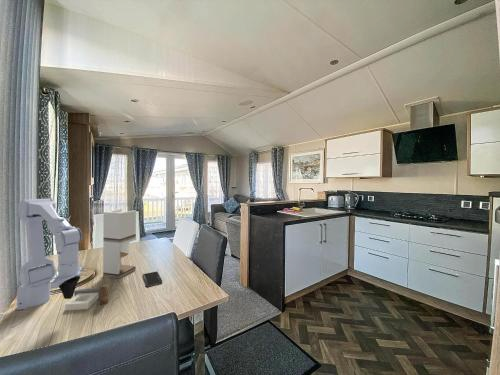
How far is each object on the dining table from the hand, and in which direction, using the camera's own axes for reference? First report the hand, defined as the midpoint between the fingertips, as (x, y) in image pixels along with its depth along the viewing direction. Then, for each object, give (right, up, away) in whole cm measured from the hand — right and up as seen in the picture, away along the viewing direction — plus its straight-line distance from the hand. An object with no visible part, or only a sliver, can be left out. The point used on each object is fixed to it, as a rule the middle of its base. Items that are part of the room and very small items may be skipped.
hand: (68, 297), depth 79 cm
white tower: (-6, -7, +41) cm, 42 cm away
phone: (+16, -8, +34) cm, 38 cm away
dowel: (+6, -8, +10) cm, 15 cm away
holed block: (-2, -7, +9) cm, 12 cm away
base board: (-1, -8, +6) cm, 10 cm away
